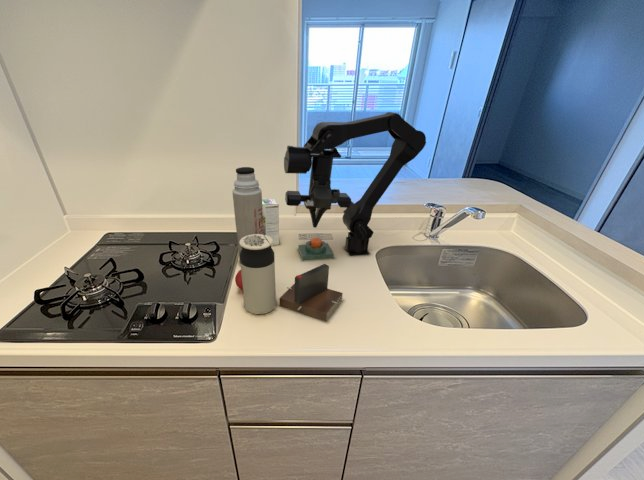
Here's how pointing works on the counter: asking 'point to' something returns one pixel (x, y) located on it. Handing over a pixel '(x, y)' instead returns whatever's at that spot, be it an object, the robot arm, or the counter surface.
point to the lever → (311, 283)
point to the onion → (239, 280)
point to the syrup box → (271, 219)
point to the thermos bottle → (247, 204)
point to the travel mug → (258, 273)
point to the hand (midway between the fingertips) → (314, 227)
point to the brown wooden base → (312, 303)
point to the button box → (315, 251)
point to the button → (315, 242)
